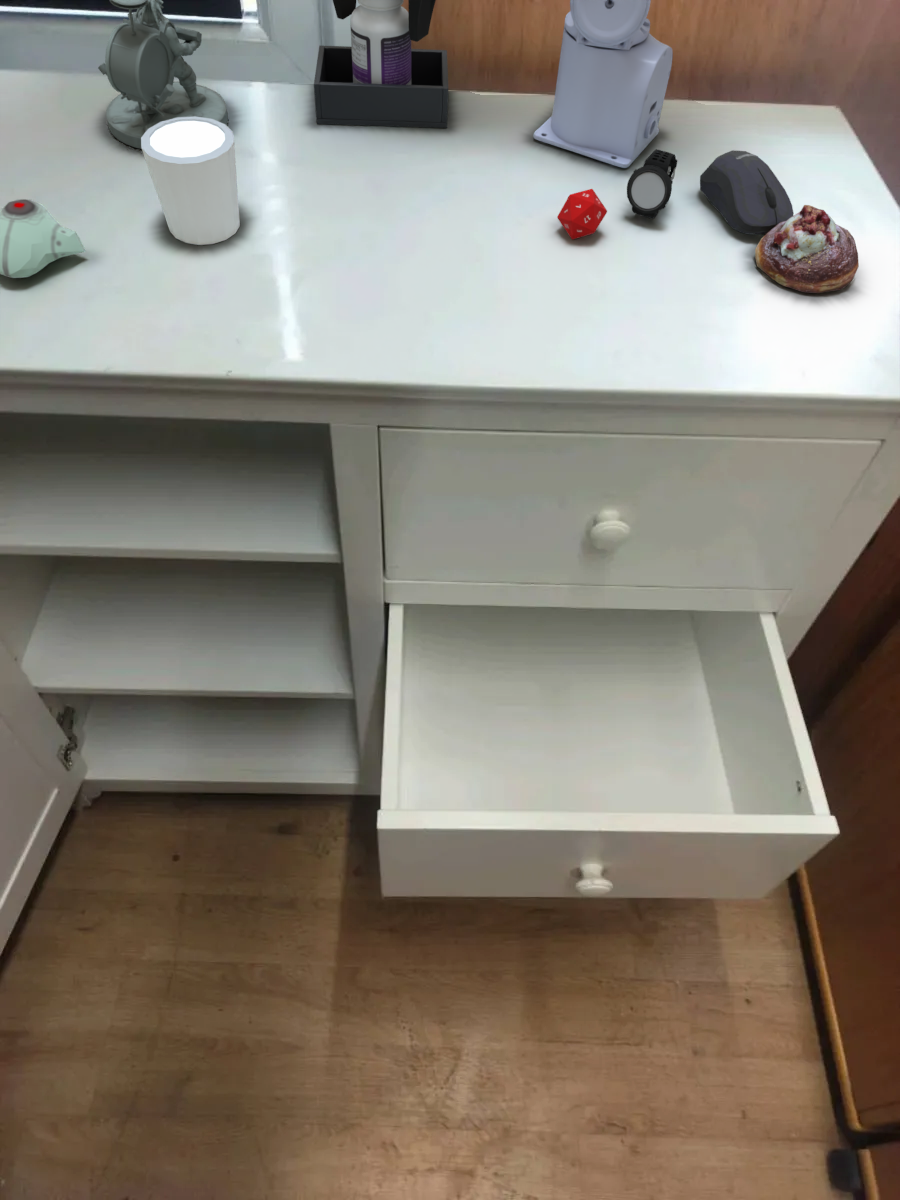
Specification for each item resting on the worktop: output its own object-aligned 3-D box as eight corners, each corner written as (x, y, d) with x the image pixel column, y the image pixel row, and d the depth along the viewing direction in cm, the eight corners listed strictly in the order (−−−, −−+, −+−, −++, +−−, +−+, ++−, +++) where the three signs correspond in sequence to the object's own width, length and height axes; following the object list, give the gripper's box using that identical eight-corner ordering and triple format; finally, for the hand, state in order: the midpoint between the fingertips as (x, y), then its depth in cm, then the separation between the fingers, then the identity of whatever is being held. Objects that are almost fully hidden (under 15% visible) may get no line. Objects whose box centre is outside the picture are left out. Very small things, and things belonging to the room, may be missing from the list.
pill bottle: (414, 89, 85) (415, -28, 77) (407, 117, 82) (407, -2, 74) (358, 84, 85) (354, -33, 77) (349, 112, 82) (343, -8, 74)
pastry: (737, 267, 71) (758, 208, 67) (778, 228, 75) (800, 170, 71) (830, 308, 68) (857, 250, 64) (867, 266, 72) (895, 208, 68)
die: (546, 208, 73) (567, 185, 69) (581, 199, 74) (604, 176, 70) (560, 250, 73) (583, 230, 69) (595, 240, 74) (619, 220, 71)
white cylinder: (144, 236, 70) (121, 148, 64) (190, 193, 74) (172, 106, 68) (220, 258, 69) (203, 170, 63) (263, 213, 73) (251, 127, 67)
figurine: (248, 107, 83) (227, -43, 73) (190, 163, 77) (158, 7, 67) (149, 84, 84) (115, -66, 75) (84, 136, 78) (38, -19, 69)
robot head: (67, 301, 66) (97, 241, 69) (49, 256, 62) (82, 195, 66) (-38, 285, 66) (-3, 226, 69) (-62, 239, 63) (-24, 179, 66)
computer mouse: (741, 245, 73) (757, 199, 69) (684, 186, 77) (697, 140, 74) (799, 233, 74) (817, 187, 71) (739, 176, 79) (754, 131, 76)
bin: (445, 88, 86) (447, 49, 83) (446, 128, 82) (448, 88, 79) (322, 84, 86) (319, 45, 83) (316, 124, 81) (313, 84, 79)
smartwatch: (612, 213, 75) (624, 154, 71) (653, 193, 77) (666, 135, 73) (649, 235, 73) (663, 177, 69) (689, 214, 75) (705, 156, 71)
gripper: (268, -179, 67) (288, 21, 78) (433, -139, 63) (429, 64, 74) (321, -200, 71) (333, -7, 82) (480, -164, 67) (470, 34, 78)
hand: (382, 25), depth 78 cm, fingers open, 7 cm apart
